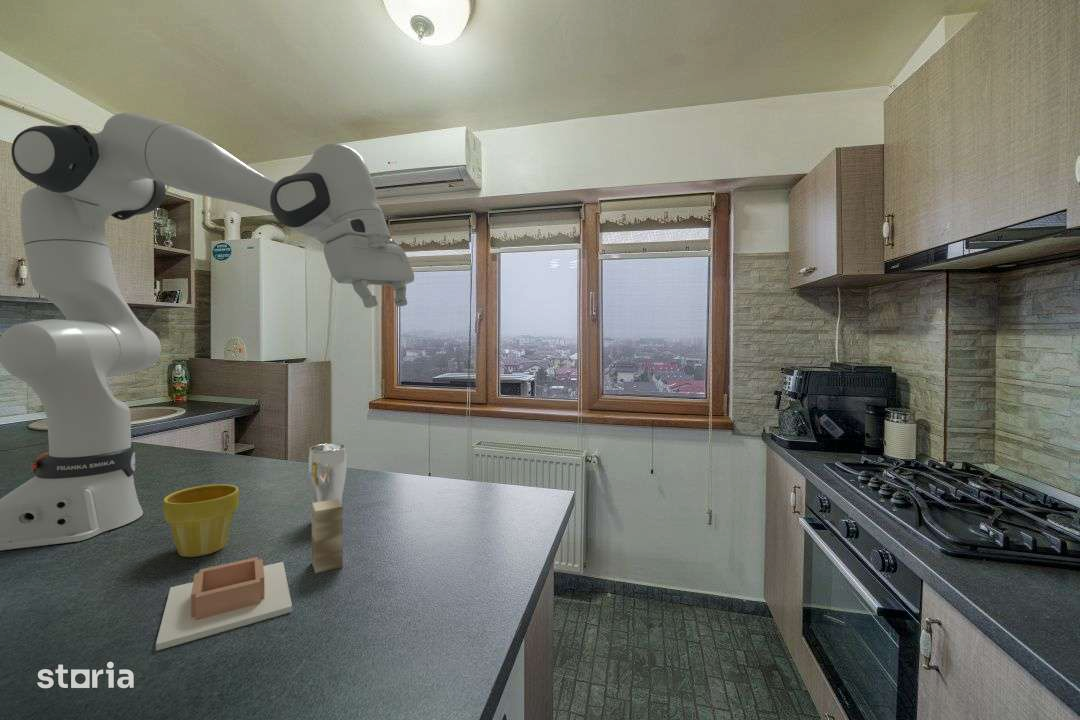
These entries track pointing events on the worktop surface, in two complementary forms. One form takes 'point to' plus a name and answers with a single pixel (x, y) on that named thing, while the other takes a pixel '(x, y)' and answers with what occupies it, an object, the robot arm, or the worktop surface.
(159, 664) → the worktop surface
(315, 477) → the beer glass
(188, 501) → the plant pot
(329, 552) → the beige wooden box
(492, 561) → the worktop surface
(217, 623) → the framed base plate
